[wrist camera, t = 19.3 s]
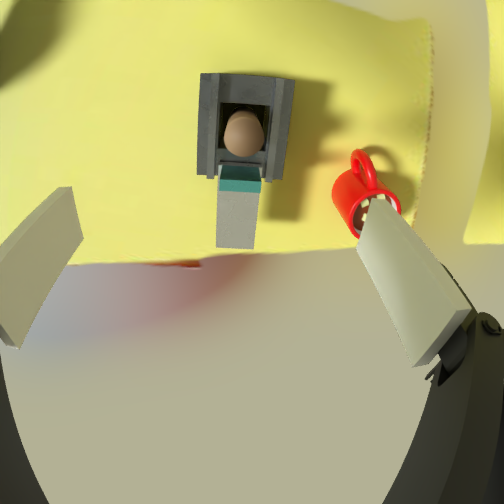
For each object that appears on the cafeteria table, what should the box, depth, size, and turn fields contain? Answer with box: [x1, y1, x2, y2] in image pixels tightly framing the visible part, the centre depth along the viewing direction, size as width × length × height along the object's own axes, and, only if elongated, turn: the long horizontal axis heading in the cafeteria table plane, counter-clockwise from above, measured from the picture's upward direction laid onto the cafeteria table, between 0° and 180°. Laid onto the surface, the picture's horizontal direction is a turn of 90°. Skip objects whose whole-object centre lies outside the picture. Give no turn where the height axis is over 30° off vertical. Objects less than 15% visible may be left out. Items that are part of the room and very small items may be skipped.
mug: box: [332, 149, 401, 239], centre depth 36 cm, size 8×12×8 cm, turn 18°
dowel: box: [224, 106, 264, 157], centre depth 29 cm, size 4×4×12 cm
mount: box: [197, 73, 295, 182], centre depth 30 cm, size 10×12×7 cm
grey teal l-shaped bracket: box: [216, 162, 262, 249], centre depth 32 cm, size 5×11×6 cm, turn 175°
